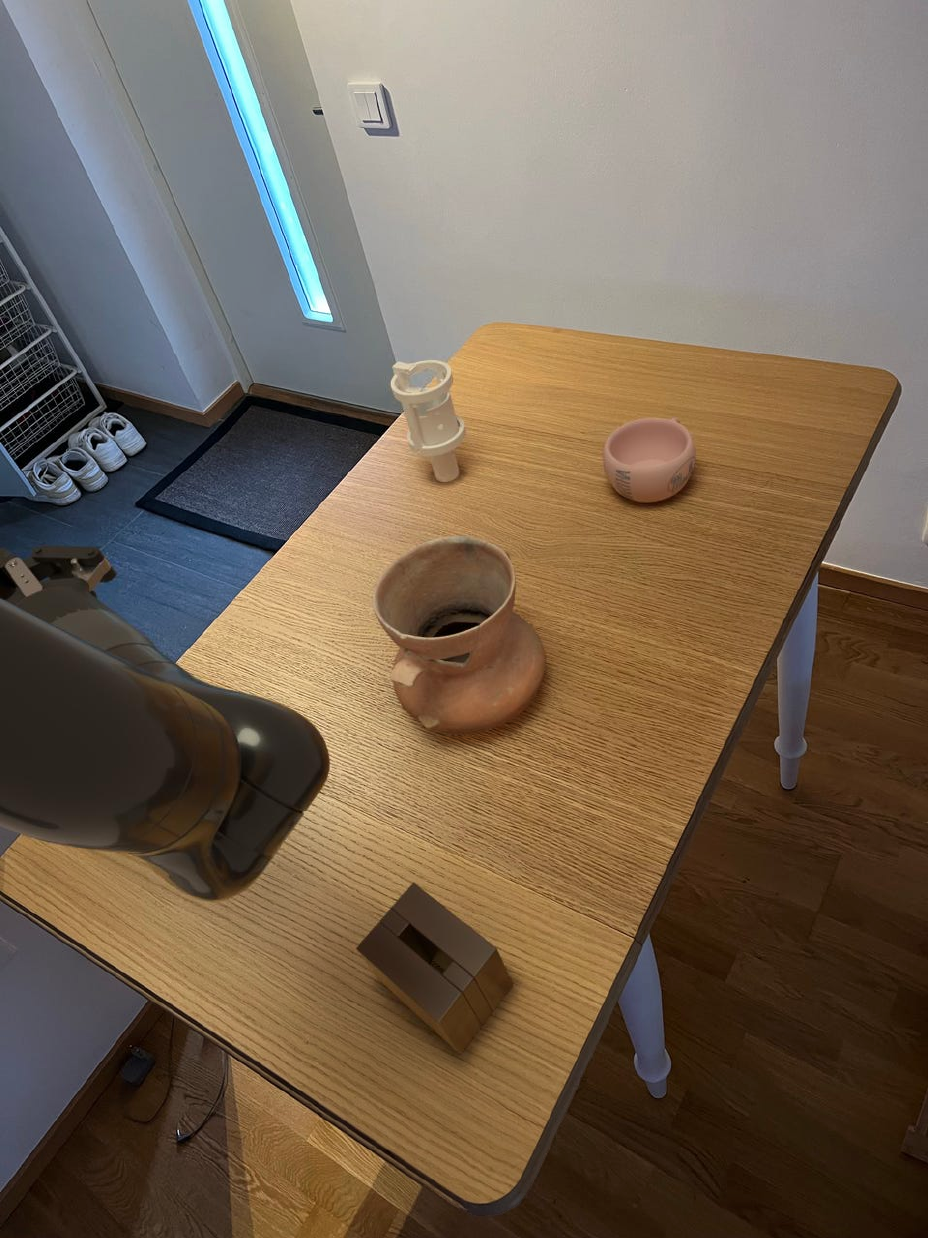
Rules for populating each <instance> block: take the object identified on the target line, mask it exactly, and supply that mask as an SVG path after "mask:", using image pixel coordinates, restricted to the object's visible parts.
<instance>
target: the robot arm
mask: <svg viewBox="0 0 928 1238" xmlns="http://www.w3.org/2000/svg"><path fill="white" fill-rule="evenodd" d="M29 556H30V557H28V558H23V559H21V558H20V557H17V556H16V555H14V554H13V553H12V552H11V551H9V550H8V549H7V548H6V547H0V569H1V570H2V571H3V572H4V573H5V575H6V576H7V577H8V578H9V579H10V580H11V581H12V583H13V584H14V585H15V586H16V587H17V588H18V590H17V591H16V592H15V593H14V594H13V595H12V596H11V597H9V598H8V599H6V600H3V599H1V598H0V828H3V829H5V830H9V831H12V832H15V833H17V834H20V835H22V836H26V837H28V838H32V839H35V840H38V841H41V842H45V843H49V844H54V845H59V846H64V847H70V848H76V849H83V850H91V851H99V852H108V853H116V854H125V855H131V856H133V857H135V858H138V859H140V860H141V861H143V862H144V863H145V864H146V865H147V866H148V867H149V868H150V869H151V870H152V871H153V872H154V873H155V874H156V875H158V877H160V878H161V879H162V880H163V881H165V882H166V883H167V884H169V886H171V887H173V888H174V889H176V890H178V891H179V892H180V893H182V894H184V895H186V896H187V897H190V898H192V899H195V900H198V901H201V902H208V903H220V902H225V901H228V900H230V899H233V898H236V897H237V896H239V895H240V894H242V893H244V892H245V891H246V890H248V889H249V888H250V887H251V886H252V885H253V884H255V882H256V881H258V879H259V878H260V877H261V876H262V874H263V873H264V872H265V870H266V869H267V867H268V866H269V865H270V863H271V862H272V861H273V859H274V857H275V856H276V855H277V853H278V852H279V851H280V849H281V848H282V846H283V845H284V843H285V842H286V840H287V839H288V838H289V836H290V835H291V833H292V832H293V831H294V829H295V827H297V824H298V823H300V822H301V821H300V820H301V819H302V818H303V816H304V815H305V813H304V812H307V811H308V810H309V808H310V806H311V805H312V804H313V802H314V801H315V800H316V798H317V797H318V796H319V794H320V792H321V790H322V789H323V788H324V786H325V784H326V781H327V780H328V778H329V773H330V769H331V768H330V767H331V758H330V754H329V753H330V752H329V749H328V746H327V743H326V741H325V739H324V737H323V736H322V734H321V732H320V731H319V729H318V728H317V727H316V725H314V723H313V722H312V721H310V720H309V719H308V718H306V716H305V715H302V714H301V713H300V712H298V711H296V710H295V709H293V708H291V707H289V706H287V705H285V704H283V703H279V702H278V701H274V700H271V699H269V698H265V697H263V696H259V695H254V694H251V693H248V692H247V693H246V692H242V691H237V690H233V689H229V688H225V687H222V686H216V685H215V684H212V683H208V682H206V681H204V680H201V679H200V678H198V677H196V676H194V675H192V673H191V672H188V671H187V670H185V669H184V668H183V667H181V666H180V665H179V664H178V663H176V662H175V661H173V660H172V659H171V658H170V657H168V656H167V655H166V654H164V653H163V652H162V651H160V650H159V649H158V648H157V646H156V645H155V644H154V643H153V642H152V640H151V639H150V638H149V637H148V636H147V635H145V634H144V633H143V632H142V631H141V630H139V628H137V627H136V626H134V625H133V624H131V623H130V622H129V621H128V620H126V619H125V618H124V617H122V616H121V615H120V614H118V613H117V612H115V610H113V609H112V608H111V607H109V606H108V605H106V604H105V603H104V602H103V601H101V600H100V599H98V594H97V593H96V591H95V589H96V588H97V586H98V584H100V583H109V582H111V581H113V580H114V579H115V578H116V576H117V574H118V573H117V571H116V570H115V569H114V567H113V565H111V563H110V562H109V560H108V558H107V557H106V556H105V554H104V553H103V552H102V550H101V549H100V548H99V547H98V546H82V545H81V546H79V545H78V546H77V545H39V546H36V547H35V548H34V549H32V550H31V551H30V555H29ZM47 578H48V579H47Z"/></svg>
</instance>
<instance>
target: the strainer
mask: <svg viewBox="0 0 928 1238" xmlns="http://www.w3.org/2000/svg"><path fill="white" fill-rule="evenodd" d="M391 368H392V371H393V377H392V378H391V380H390V387H391V391H392V394H393V397H394V399H396V400H397V401H399V402H400V403H401V406H402V409H403V414H404V416H405V419H406V423H407V427H408V429H407V432H406V440H407V443H408V447H409V449H410V450H411V452H413V453H414V454H417V455H418V456H423V457H429V460H430V462H431V466H432V469H433V473H434V477H435V479H436V480H437V481H438V482H441V483H449V482H452V481H453V480H456V479H457V478H458V477H459V475H460V469H459V464H458V461H457V458H456V454H455V449H456V448H457V447H459V446H461V444H462V443H463V442H464V440H465V439H466V436H467V429H466V425H465V422H464V419H463V418H462V417H461V416H459V415H458V414H456V411H455V406H454V402H453V399H452V394H451V390H450V389H451V387H452V386H453V384H454V375H453V371H452V367H451V365H449V364H448V363H446V362H445V361H442V360H438V359H437V360H436V359H426V360H420V361H416V362H413V363H410V362H409V363H407V362H404V361H399V360H398V361H397V362H395V364H393V365H392V366H391ZM427 370H429V371H430V372H432V371H434V374H435V378H436V381H437V385H435V386H433V387H427V388H423V387H419V386H415V385H412V384H411V380H410V377H411V376H413V375H417V374H419V373H423V372H426V371H427Z"/></svg>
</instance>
